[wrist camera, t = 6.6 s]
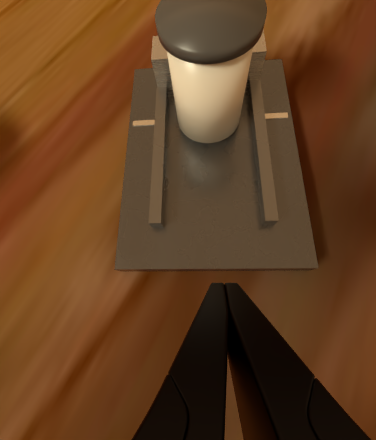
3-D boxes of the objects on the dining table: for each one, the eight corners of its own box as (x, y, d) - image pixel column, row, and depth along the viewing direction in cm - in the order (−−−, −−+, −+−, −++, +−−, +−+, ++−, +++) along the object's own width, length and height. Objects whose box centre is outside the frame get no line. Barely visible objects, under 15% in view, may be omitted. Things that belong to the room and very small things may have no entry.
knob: (246, 145, 21) (273, 45, 13) (173, 148, 21) (152, 55, 13) (241, 88, 23) (260, -29, 15) (174, 92, 24) (157, -19, 15)
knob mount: (310, 270, 19) (349, 260, 14) (121, 271, 20) (91, 262, 15) (277, 72, 26) (295, 15, 21) (138, 81, 27) (122, 30, 22)
